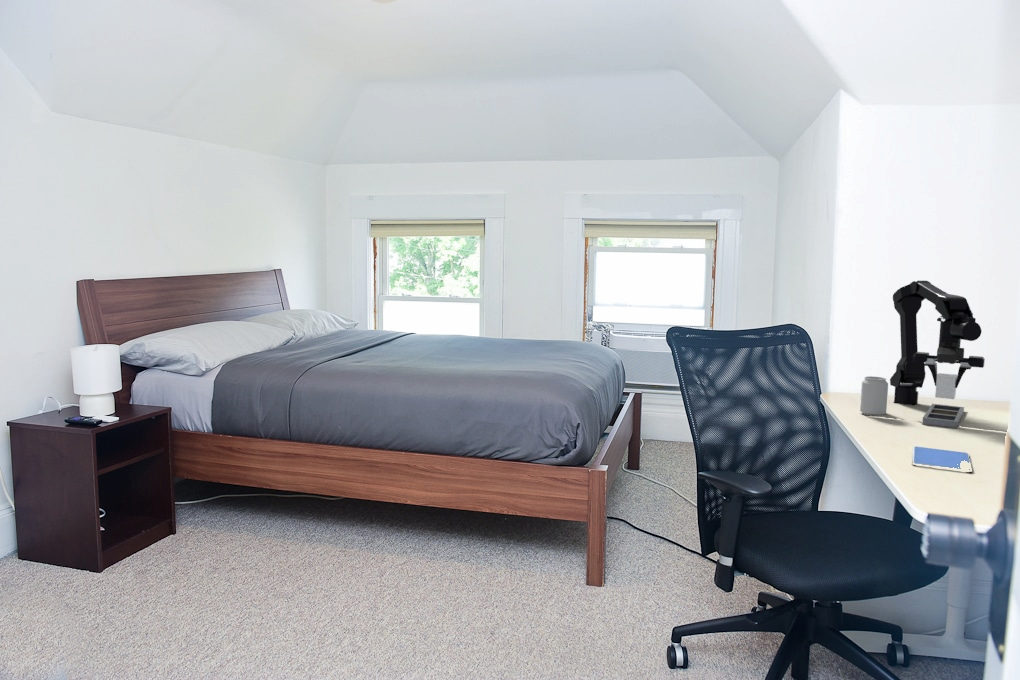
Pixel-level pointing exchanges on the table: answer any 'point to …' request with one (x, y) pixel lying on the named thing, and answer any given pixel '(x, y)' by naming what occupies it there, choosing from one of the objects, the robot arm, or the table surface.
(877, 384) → the can
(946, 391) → the metal block
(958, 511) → the table surface
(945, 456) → the tablet computer
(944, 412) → the gray compartment tray
